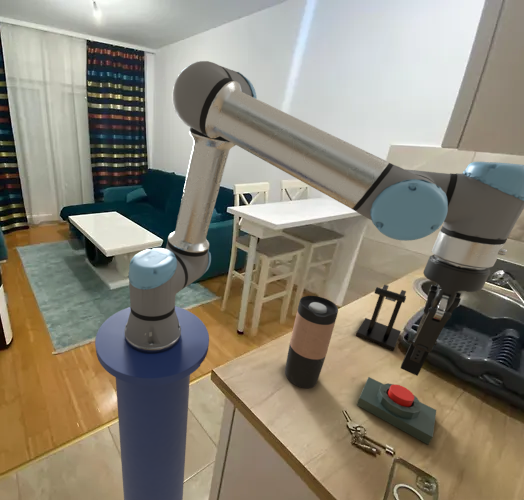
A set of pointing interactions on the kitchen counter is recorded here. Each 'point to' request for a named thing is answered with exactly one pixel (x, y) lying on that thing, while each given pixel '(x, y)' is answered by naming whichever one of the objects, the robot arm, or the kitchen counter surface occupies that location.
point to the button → (401, 395)
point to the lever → (390, 295)
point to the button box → (398, 411)
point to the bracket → (381, 326)
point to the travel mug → (310, 340)
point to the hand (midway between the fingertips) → (409, 369)
